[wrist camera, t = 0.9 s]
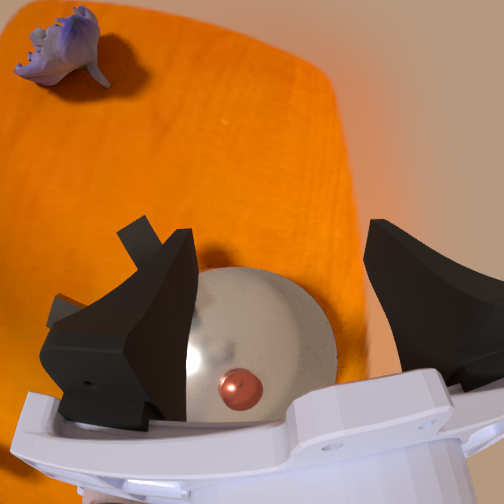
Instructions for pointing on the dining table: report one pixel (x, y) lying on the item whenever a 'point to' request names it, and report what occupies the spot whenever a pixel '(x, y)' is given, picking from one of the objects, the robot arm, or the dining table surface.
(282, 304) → the cooker lid
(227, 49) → the dining table surface
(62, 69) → the flower
